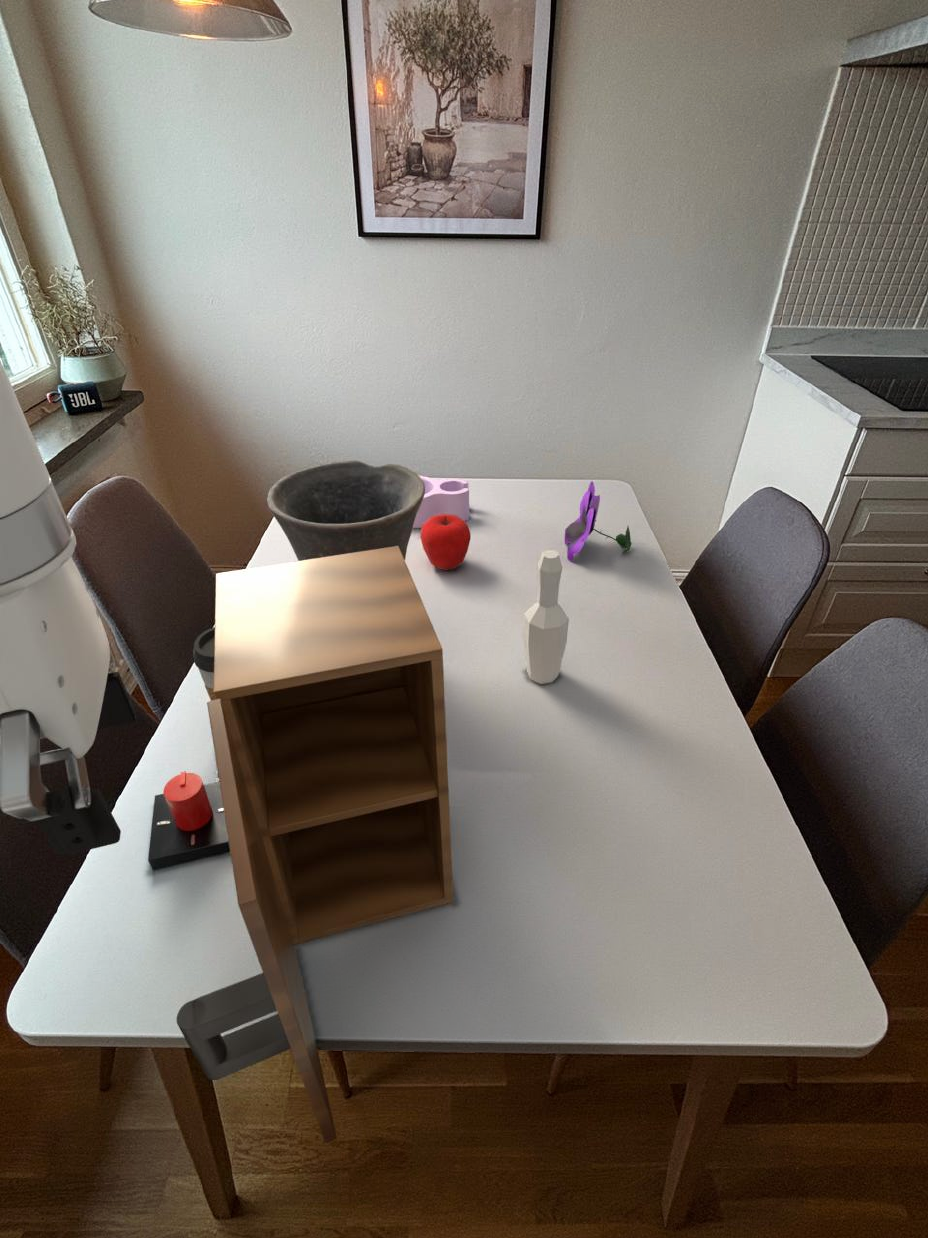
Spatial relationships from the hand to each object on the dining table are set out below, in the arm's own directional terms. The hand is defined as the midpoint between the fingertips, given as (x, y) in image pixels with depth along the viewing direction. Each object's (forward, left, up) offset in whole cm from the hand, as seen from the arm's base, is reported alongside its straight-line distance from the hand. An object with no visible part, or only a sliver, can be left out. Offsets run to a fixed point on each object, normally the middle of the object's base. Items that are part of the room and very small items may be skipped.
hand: (102, 779), depth 42 cm
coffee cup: (+46, -2, -39) cm, 60 cm away
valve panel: (+28, +4, -38) cm, 48 cm away
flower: (+76, -73, -39) cm, 112 cm away
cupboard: (+18, -15, -38) cm, 45 cm away
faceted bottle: (+43, -48, -39) cm, 75 cm away
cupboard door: (-1, -4, -38) cm, 39 cm away
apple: (+80, -42, -39) cm, 99 cm away
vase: (+56, -22, -39) cm, 72 cm away
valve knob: (+28, +4, -36) cm, 46 cm away
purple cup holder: (+103, -43, -39) cm, 118 cm away
